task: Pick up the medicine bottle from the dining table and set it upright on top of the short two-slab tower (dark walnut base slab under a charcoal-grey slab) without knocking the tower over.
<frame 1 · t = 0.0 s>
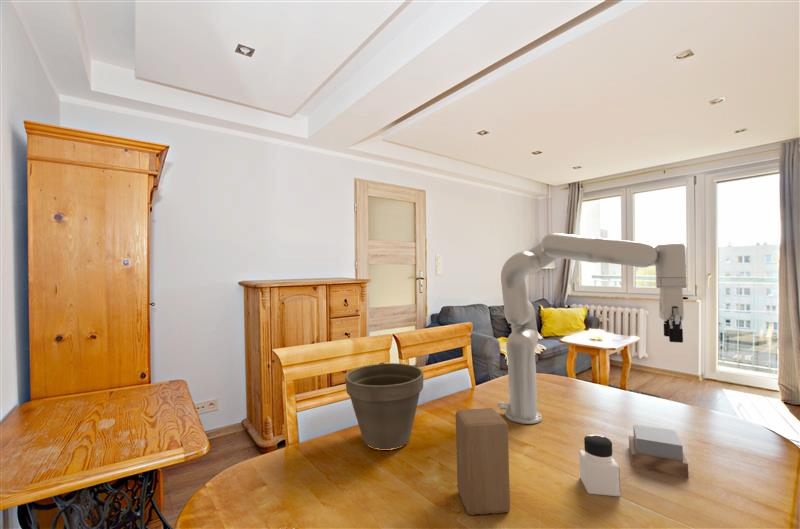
hand: (673, 339, 113), 31 cm above the table, fingers open, 9 cm apart
wooden block: (482, 502, 86), on the table
plant pot: (386, 441, 118), on the table
medicine bottle: (599, 487, 90), on the table
tower base: (656, 463, 102), on the table, touching tower top
tower top: (656, 448, 101), point 3 cm above the table, touching tower base
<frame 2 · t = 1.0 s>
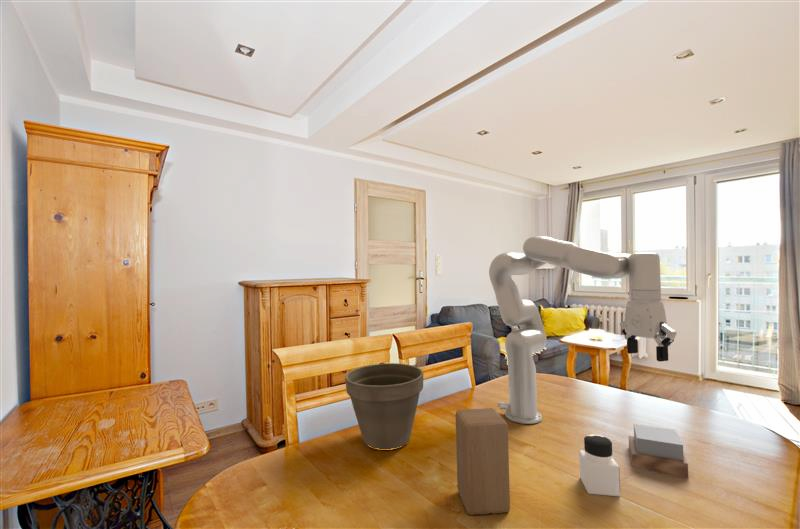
hand: (646, 356, 104), 28 cm above the table, fingers open, 9 cm apart
nothing on the table moved.
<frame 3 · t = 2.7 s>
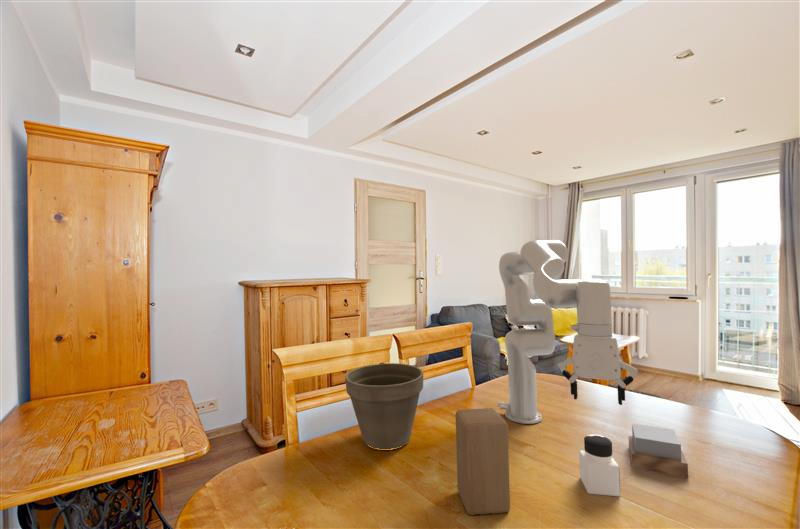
hand: (597, 400, 90), 21 cm above the table, fingers open, 9 cm apart
tower base: (656, 463, 101), on the table
tower top: (655, 447, 102), point 4 cm above the table
everything else where it was.
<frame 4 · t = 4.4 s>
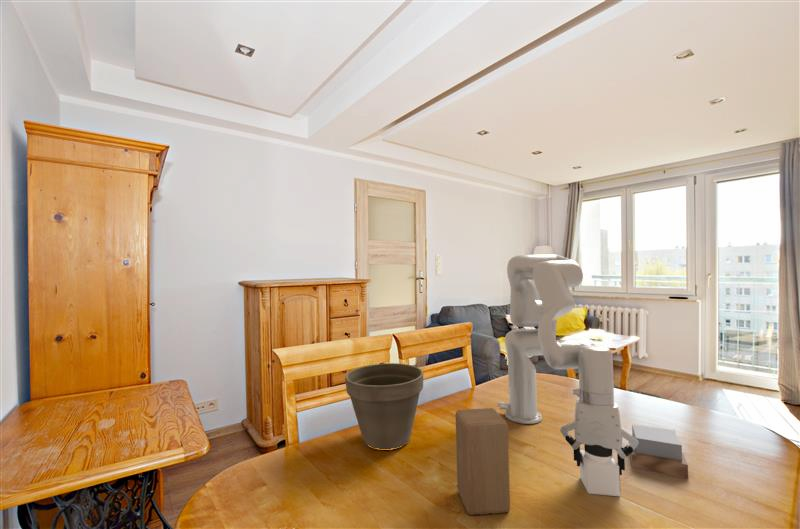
hand: (598, 467, 90), 5 cm above the table, fingers closed on medicine bottle, 8 cm apart
medicine bottle: (599, 487, 90), on the table, touching gripper
tower base: (656, 464, 101), on the table, touching tower top
tower top: (655, 448, 102), point 3 cm above the table, touching tower base
everything else where it was.
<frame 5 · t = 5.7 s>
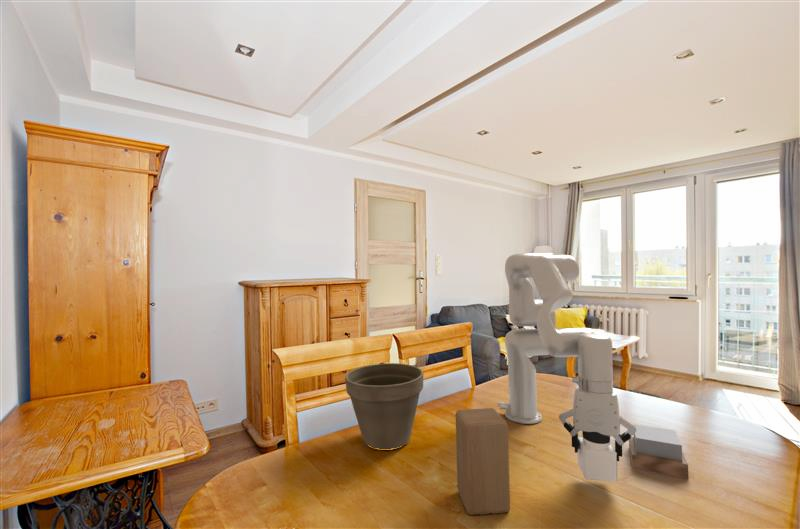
hand: (596, 454, 91), 8 cm above the table, fingers closed on medicine bottle, 8 cm apart
medicine bottle: (596, 473, 91), point 3 cm above the table, touching gripper
everything else where it was.
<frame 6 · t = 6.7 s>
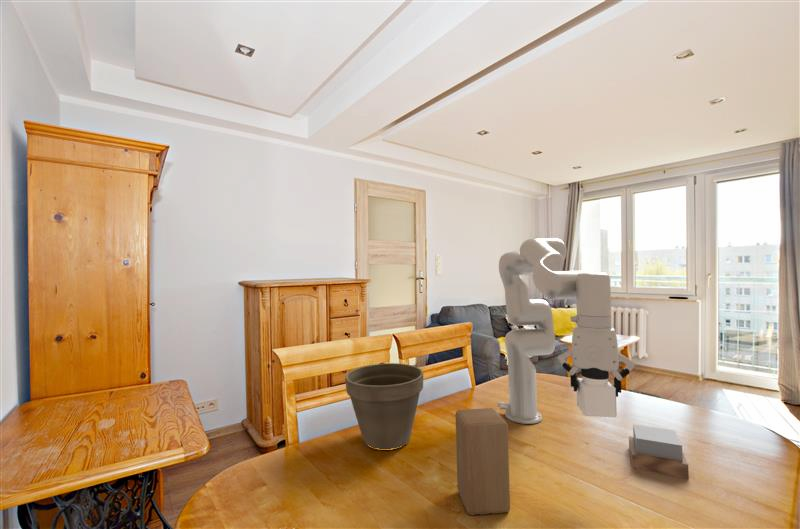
hand: (595, 392, 91), 23 cm above the table, fingers closed on medicine bottle, 8 cm apart
medicine bottle: (595, 412, 91), point 18 cm above the table, touching gripper
everything else where it was.
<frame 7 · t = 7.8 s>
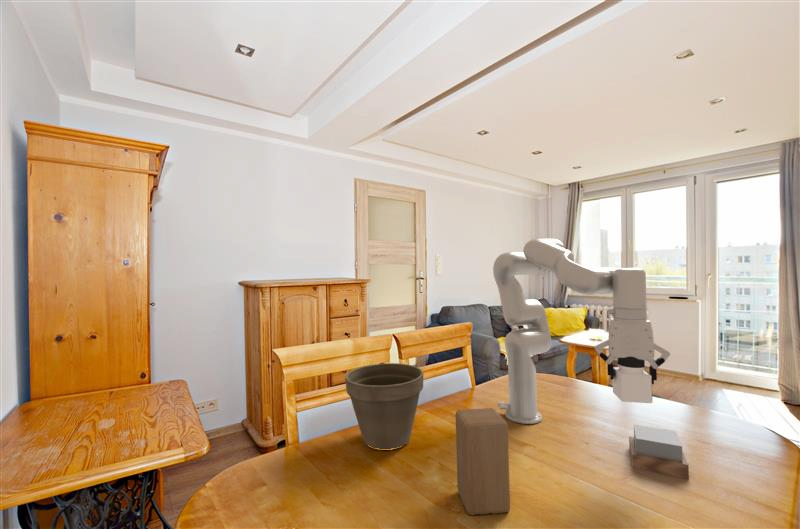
hand: (631, 380, 98), 24 cm above the table, fingers closed on medicine bottle, 8 cm apart
medicine bottle: (631, 398, 97), point 19 cm above the table, touching gripper
everything else where it was.
when the fingers open (14 cm above the table, at t = 11.0 s): medicine bottle drops 1 cm, point 7 cm above the table.
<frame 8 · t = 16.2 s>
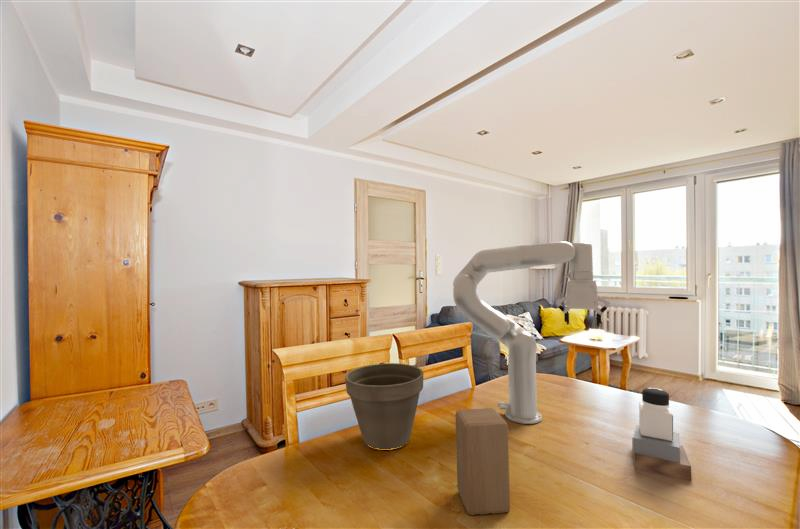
hand: (582, 324, 132), 33 cm above the table, fingers open, 9 cm apart
medicine bottle: (655, 434, 101), point 7 cm above the table
at the end: medicine bottle 1.1 cm off-centre on the tower base, point 8.1 cm above the tower base's base; medicine bottle tilted 3°; tower top 0.7 cm off-centre on the tower base, point 4.0 cm above the tower base's base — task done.
